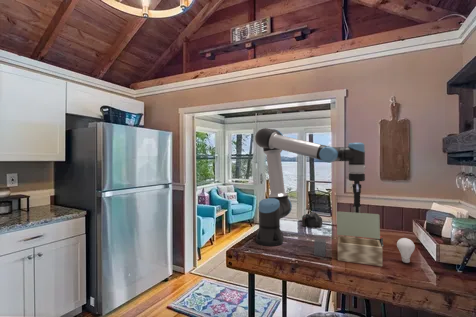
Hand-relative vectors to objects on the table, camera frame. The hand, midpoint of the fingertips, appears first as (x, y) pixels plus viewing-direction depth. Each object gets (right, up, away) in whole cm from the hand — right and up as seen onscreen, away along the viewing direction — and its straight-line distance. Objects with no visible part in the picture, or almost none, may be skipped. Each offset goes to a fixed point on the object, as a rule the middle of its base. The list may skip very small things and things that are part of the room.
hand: (357, 219), depth 129 cm
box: (-5, -16, -11) cm, 20 cm away
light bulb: (+14, -16, -17) cm, 27 cm away
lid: (-2, -1, -6) cm, 7 cm away
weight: (-21, -16, -6) cm, 27 cm away
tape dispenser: (+6, -16, +6) cm, 18 cm away
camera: (-11, -15, +41) cm, 45 cm away
